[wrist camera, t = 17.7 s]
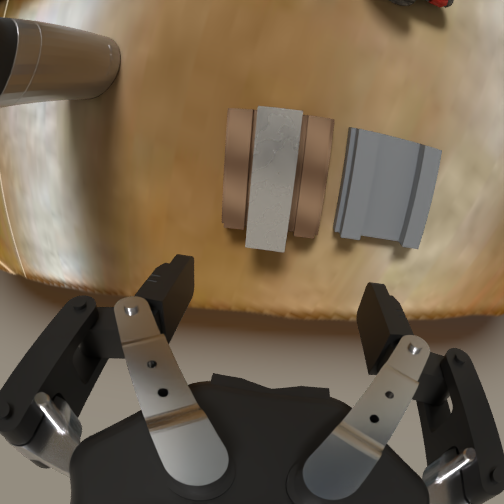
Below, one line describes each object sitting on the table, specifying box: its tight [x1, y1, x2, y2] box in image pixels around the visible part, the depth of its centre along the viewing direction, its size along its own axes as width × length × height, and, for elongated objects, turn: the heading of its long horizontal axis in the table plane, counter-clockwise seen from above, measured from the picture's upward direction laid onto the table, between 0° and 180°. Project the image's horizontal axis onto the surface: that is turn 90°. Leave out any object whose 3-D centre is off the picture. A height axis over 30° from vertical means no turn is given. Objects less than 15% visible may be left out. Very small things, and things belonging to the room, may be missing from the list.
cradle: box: [222, 108, 334, 239], centre depth 30 cm, size 13×11×3 cm
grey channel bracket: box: [333, 127, 442, 249], centre depth 29 cm, size 12×11×3 cm
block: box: [245, 106, 303, 252], centre depth 28 cm, size 14×4×4 cm, turn 175°
